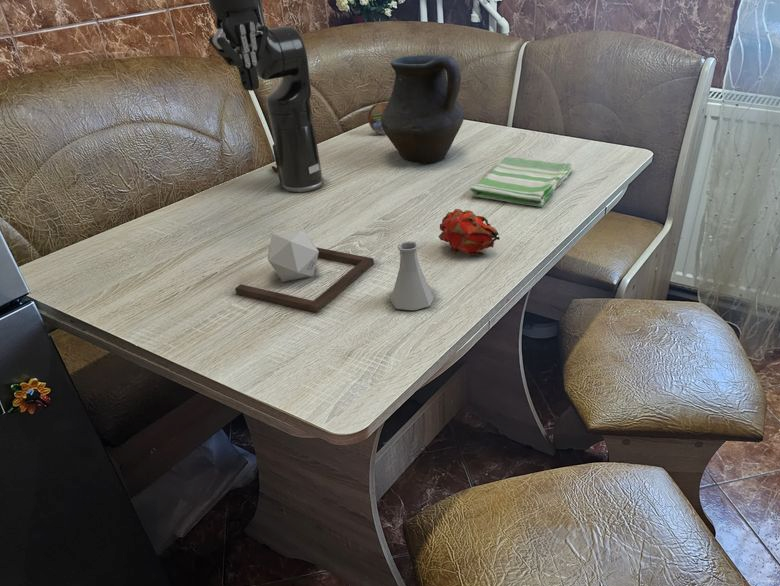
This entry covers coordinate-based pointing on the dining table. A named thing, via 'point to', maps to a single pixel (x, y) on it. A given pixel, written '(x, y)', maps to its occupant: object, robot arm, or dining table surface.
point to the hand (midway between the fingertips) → (251, 89)
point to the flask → (410, 281)
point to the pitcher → (423, 107)
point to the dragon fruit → (467, 232)
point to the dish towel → (522, 181)
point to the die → (292, 254)
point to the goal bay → (324, 298)
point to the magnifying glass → (377, 117)
